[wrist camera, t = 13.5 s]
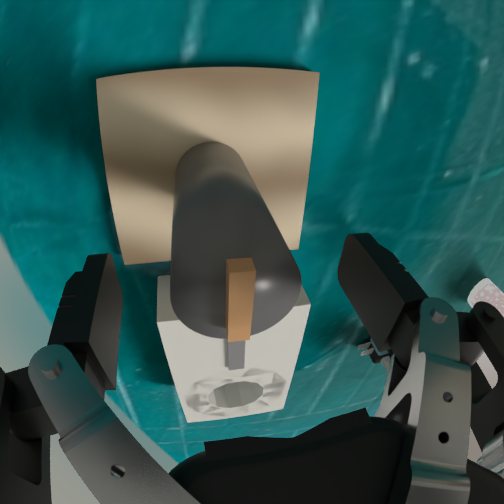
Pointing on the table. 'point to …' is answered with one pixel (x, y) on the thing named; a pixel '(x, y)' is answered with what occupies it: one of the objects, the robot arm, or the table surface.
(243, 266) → the dark grey cylinder
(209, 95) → the board
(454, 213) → the table surface
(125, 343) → the table surface
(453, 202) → the table surface
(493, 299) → the beverage cup
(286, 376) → the light grey boxy piece
